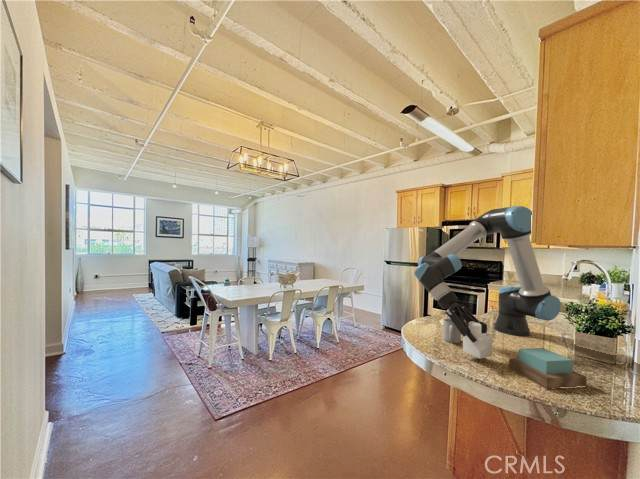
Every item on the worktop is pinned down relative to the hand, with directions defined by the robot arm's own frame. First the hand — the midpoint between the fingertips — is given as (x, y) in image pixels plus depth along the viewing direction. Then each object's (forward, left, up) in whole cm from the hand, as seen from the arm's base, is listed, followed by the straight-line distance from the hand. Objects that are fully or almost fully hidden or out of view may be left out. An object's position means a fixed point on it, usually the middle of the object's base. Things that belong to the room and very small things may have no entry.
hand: (487, 346), depth 101 cm
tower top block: (-12, +11, -3) cm, 17 cm away
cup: (0, -22, -6) cm, 23 cm away
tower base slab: (-12, +12, -7) cm, 18 cm away
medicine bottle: (+2, -3, -4) cm, 5 cm away
